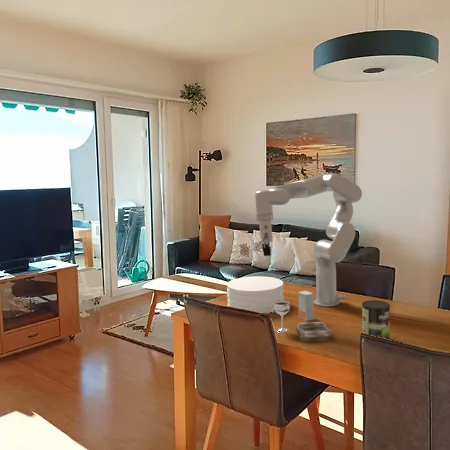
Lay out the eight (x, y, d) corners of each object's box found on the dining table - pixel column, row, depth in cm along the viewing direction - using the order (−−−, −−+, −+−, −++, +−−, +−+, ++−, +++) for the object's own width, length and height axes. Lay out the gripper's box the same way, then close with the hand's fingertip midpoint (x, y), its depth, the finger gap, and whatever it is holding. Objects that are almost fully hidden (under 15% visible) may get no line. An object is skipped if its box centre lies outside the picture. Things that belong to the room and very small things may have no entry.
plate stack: (283, 297, 236) (282, 275, 234) (285, 314, 208) (284, 290, 206) (230, 297, 238) (229, 276, 237) (225, 315, 211) (224, 291, 209)
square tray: (324, 329, 186) (324, 321, 186) (332, 340, 174) (331, 331, 174) (296, 330, 186) (296, 322, 186) (301, 341, 174) (301, 333, 174)
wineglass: (280, 326, 192) (279, 299, 191) (293, 329, 188) (292, 301, 186) (271, 331, 187) (270, 303, 185) (285, 334, 183) (284, 305, 181)
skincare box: (298, 317, 202) (298, 291, 201) (306, 315, 204) (306, 290, 203) (306, 321, 197) (305, 294, 195) (314, 319, 198) (313, 293, 197)
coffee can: (395, 339, 173) (395, 304, 171) (379, 346, 167) (379, 310, 165) (372, 332, 181) (372, 298, 179) (356, 338, 175) (356, 303, 173)
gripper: (274, 219, 197) (276, 257, 199) (271, 214, 214) (273, 249, 216) (257, 220, 197) (259, 258, 199) (255, 215, 214) (257, 250, 216)
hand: (266, 253), depth 208 cm, fingers open, 9 cm apart
